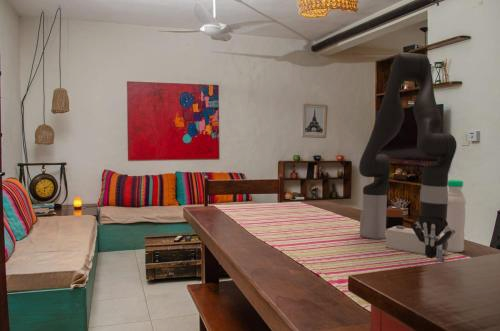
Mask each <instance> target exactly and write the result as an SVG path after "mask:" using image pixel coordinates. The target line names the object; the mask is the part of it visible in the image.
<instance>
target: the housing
mask: <svg viewBox="0 0 500 331" xmlns="http://www.w3.org/2000/svg"><path fill="white" fill-rule="evenodd" d="M422 231H423V229H422ZM423 233H424V231H423ZM443 235H444V233H441V234H440V237H439V239H440V238H441V237H442V236H443ZM387 247H388V248H389V249H395V250H399V251H405V252H410V253H414V254H419V255H420V254H421V255H425V243H423V242H421V241H419V239H418V237H417V236H416V234H415V232H414V231H413V229H412V228H411V227H409V228H408V227H405V226H404V225H403V226H394V227H392V228H389V229H387V228H386V237H385V248H387ZM438 247H439V246H437V255H436V256H435V257H434V258H438ZM447 247H448V241H446V242H445V243H444V244H442V255H443V254H445V253H446V252H447V251H446V250H447Z"/></svg>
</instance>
